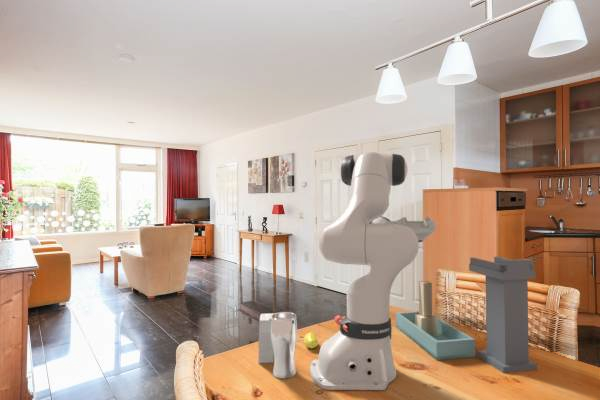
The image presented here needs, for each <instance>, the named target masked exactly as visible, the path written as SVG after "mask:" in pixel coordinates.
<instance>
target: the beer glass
mask: <svg viewBox="0 0 600 400" xmlns="http://www.w3.org/2000/svg"><path fill="white" fill-rule="evenodd" d="M297 341H298V323H297V314H296V313H294V312H291V311H280V312H274V314H273V315H272V316H271V342H272V348H273V353H274V358H273V368H272V375H273V377H274V378H277V379H280V380H287V379H291V378H293V377H295V376H296V374H297V370H296V364H295V354H296V348H297Z"/></svg>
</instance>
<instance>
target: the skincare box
mask: <svg viewBox="0 0 600 400" xmlns="http://www.w3.org/2000/svg"><path fill="white" fill-rule="evenodd" d="M273 314H275V312H274V313H273V312H272V313H271V312H270V313H261V314H260V316H259V322H258V328H259V329H258V363H259V364H271V363H272V364H274V353H273V348H272V342H271V316H272V315H273Z"/></svg>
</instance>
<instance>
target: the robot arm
mask: <svg viewBox="0 0 600 400" xmlns="http://www.w3.org/2000/svg"><path fill="white" fill-rule="evenodd" d="M408 170H409V169H408V163H407V162H406V160H405V157H404V156H402V154H397V153H392V154H386V153H385V154H384V153H378V152H375V151H367V152H364V153H362V154H359V155H358V154H356V155H354V154H352V155H347V156H345V157H343V158H342V160H341V163H340V165H339V175H340V178H341V181H342V183H344V184H345V185H346V186H349V187H350V190H349V191H350V193H349V197H348V203H347V206H346V207H345V210H344V211H343V212H342V213H341V215H340V216H339V217H338V218H337V219H336V220H335V221H333V222H332V223H330V224H328V225H326V226H325V227H324V228H323V230H322V232H320V236H319V240H318V248H319V251H320V253H321V255H322V256H323V258H324V259H325V260H326V261H330V262H331V263H337V264H341V265H358V266H360V265H361V266H369V267H370V271H369V272H368V273H367V274H365V275H363V276H361V277H358V278H356V279H354V280H353V281H351V282H350V283H349V285H348V286H347V290H346V315H345V316H344V317H341V315H336V316H335V317H334V322H335V323H336V325H338V326H339V330H338V331H337V332H336V333H334V334H333V335H332V336H331V337H329V338H328V339H327V340H325V341H324V342H323V343H322V344H321V346H320V349H319V353H318V358H317V359H313V360H312V361H311V363H310V367H309V373H310V374H309V375H310V376H311V379H312V380H313V382H314V383H315V385H317V386H318V387H319V388H321V389H323V390H331V391H332V390H333V391H337V390H338V391H343V390H345V391H348V390H349V391H356V390H357V391H385V390H386V389H387V388H388V386H389V383H392V381H394V380H395V379H396V377H397V375H398V374H397V373H398V372H397V370H396V366H395V361H394V357H393V352H392V351H393V350H392V343H391V340H392V332H393V331H392V329H393V328H392V327H393V326H392V319H391V316H390V303H391V301H390V300H391V293H392V287H393V284H394V281H395V280H396V278H397V276H398V275H399V274H400V273H401V271H403V269H405V268H406V267H407V266H409V265H410V264H412V262H414V260H416V258H417V256H418V253H419V248H420V245H419V243H423V242H425V241H426V238H428V237H430V236H431V235H432V234H433V233H434V232H435V231H436V230H437V226H436V222H435V221H434V220H432V217H431V216H426V217H424V220H408V219H407V217H405V216H404V217H403V216H402V217H401V218H400V219H397V220H390V219H389V218H387V217H385V216H383V215H384V214H385V213H386V212H387V210H388V209H389V205H390V193H391V187H392V186H393V187H396V186H400V185H402V184H404V182H405V180H406V178H407V175H408Z"/></svg>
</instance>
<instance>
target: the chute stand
mask: <svg viewBox="0 0 600 400" xmlns="http://www.w3.org/2000/svg"><path fill="white" fill-rule="evenodd" d="M493 259H494V261H490V260H485V259H481V258H478V257H469V261H470V263H469V264H468V271H470V272H472V273H473V272H474V273H476V274H481V275H483V276H485V319H486V320H485V321H486V322H485V325H486V327H485V328H486V329H485V330H486V331H485V333H486V334H485V336H486V339H485V340H486V341H485V342H486V349H481V350H479V349H478V350H477V351H476V356H477V357H478V358H480V359H482V360H483V361H484V362H486V363H487V364H489V365H491V366H493V368H495V369H497V370H498V371H500V372H501V373H503V374H504V373H505V374H508V373H517V372H525V371H535V370H538V364H537V363H536V362H534V361H533V360H531V359H529V354H530V347H529V346H530V345H529V296H528V295H529V293H528V292H529V291H528V286H529V284H528V283H529V282H528V280H534V279H537V277H536V275H537V274H536V270H535V259H532V258H521V259H511V258H507V257H500V256H494V258H493Z"/></svg>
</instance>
